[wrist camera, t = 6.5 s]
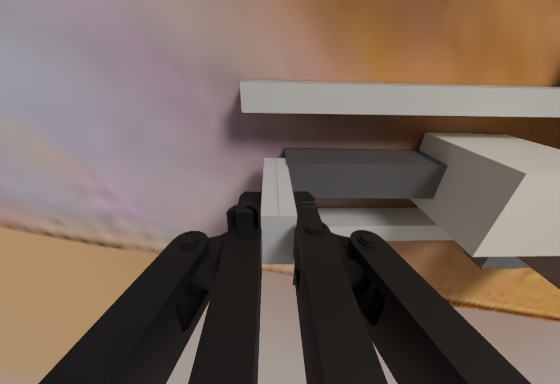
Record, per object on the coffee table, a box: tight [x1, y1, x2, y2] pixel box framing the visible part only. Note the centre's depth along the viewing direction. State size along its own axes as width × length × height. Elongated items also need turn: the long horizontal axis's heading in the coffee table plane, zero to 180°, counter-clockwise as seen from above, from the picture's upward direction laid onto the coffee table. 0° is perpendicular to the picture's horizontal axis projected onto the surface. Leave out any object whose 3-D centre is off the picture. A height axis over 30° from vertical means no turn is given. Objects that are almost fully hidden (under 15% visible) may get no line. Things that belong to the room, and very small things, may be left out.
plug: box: [284, 133, 560, 257], centre depth 14 cm, size 16×5×7 cm, turn 88°
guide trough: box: [240, 80, 560, 241], centre depth 15 cm, size 22×11×2 cm, turn 89°
